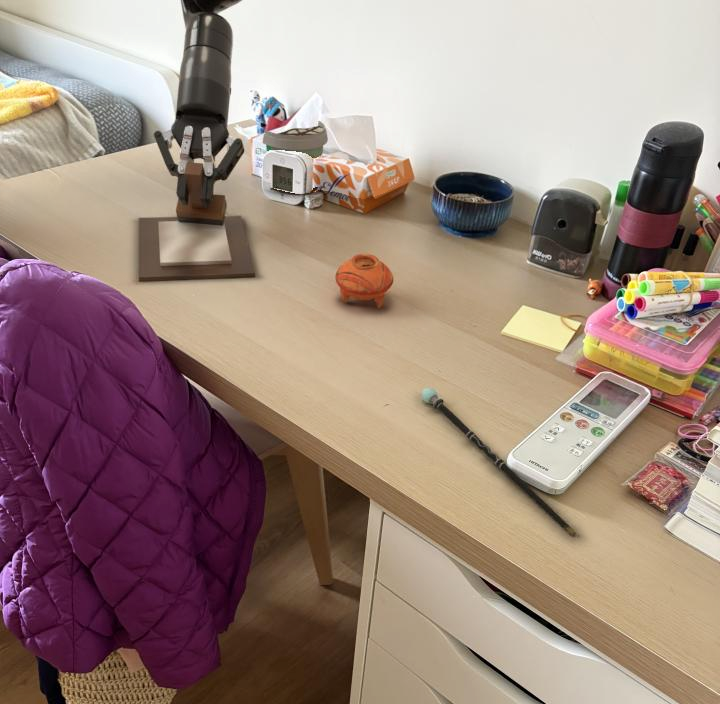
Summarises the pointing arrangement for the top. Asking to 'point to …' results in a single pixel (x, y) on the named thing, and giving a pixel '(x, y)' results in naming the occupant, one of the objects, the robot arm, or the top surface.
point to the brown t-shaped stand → (194, 208)
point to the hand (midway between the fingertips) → (194, 203)
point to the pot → (364, 278)
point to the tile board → (192, 250)
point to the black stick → (490, 454)
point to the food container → (298, 143)
